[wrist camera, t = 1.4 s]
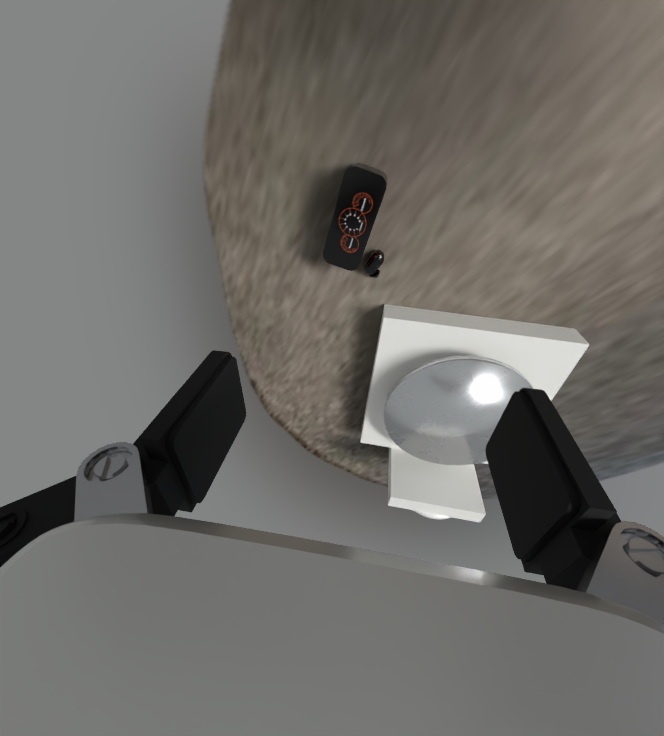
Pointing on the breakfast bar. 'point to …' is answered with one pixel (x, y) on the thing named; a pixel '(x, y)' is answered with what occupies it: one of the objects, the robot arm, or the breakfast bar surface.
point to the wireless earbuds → (356, 219)
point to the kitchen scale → (453, 398)
